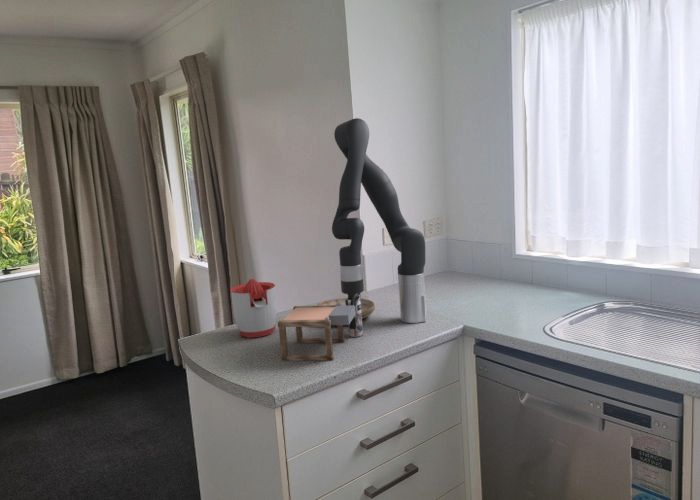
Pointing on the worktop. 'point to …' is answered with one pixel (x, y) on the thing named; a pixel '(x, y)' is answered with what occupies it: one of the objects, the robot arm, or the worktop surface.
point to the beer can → (357, 324)
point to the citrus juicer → (254, 308)
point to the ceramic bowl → (366, 304)
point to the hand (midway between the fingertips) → (355, 325)
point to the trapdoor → (324, 314)
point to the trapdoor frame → (309, 323)
